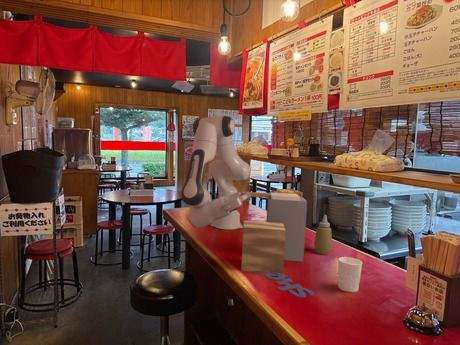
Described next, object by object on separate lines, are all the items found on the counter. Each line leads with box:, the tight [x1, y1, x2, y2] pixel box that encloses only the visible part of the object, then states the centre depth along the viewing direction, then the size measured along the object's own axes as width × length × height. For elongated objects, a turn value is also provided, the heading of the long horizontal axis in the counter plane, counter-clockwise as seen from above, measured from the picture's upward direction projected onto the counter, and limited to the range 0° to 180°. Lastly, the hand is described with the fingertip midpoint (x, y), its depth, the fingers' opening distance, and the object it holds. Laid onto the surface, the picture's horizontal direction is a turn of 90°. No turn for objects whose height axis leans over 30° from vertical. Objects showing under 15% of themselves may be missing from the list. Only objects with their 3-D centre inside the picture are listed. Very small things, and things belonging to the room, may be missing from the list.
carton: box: [265, 196, 308, 262], centre depth 150 cm, size 12×16×26 cm
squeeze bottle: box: [313, 214, 333, 256], centre depth 157 cm, size 8×8×18 cm
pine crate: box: [240, 220, 286, 274], centre depth 135 cm, size 12×16×17 cm
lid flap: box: [241, 191, 301, 201], centre depth 149 cm, size 10×25×2 cm, turn 86°
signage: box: [252, 271, 316, 299], centre depth 122 cm, size 28×1×10 cm
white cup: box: [337, 256, 363, 293], centre depth 118 cm, size 8×8×10 cm
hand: (250, 193), depth 150 cm, fingers closed on lid flap, 4 cm apart
